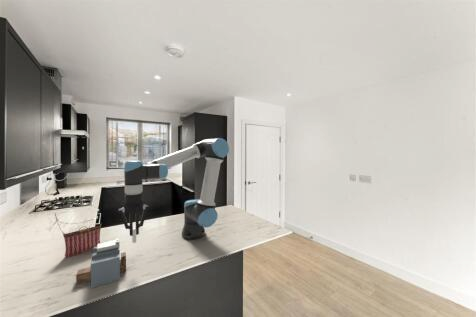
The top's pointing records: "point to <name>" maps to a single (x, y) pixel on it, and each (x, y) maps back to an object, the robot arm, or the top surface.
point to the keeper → (108, 246)
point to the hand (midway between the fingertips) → (134, 241)
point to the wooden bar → (85, 273)
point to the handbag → (81, 239)
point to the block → (105, 267)
